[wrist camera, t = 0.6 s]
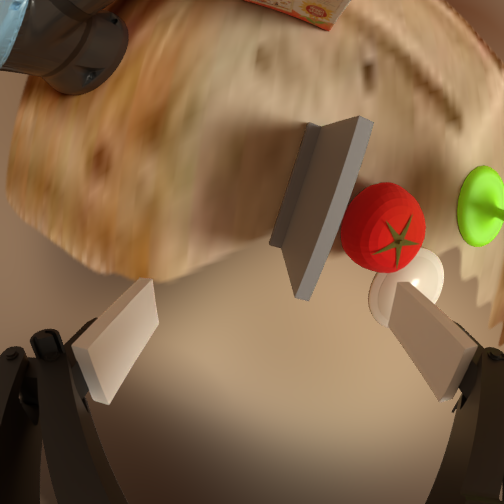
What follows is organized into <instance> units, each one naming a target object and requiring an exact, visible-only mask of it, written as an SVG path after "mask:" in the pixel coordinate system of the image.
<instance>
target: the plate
mask: <svg viewBox="0 0 504 504" xmlns="http://www.w3.org/2000/svg"><path fill="white" fill-rule="evenodd" d="M443 281H444V271H443V266H442V264H441V261H440V260H439V258H438V257H437V255H436V254H434V253H433V252H432V251H430V250H428V249H427V248H423V247H421V248H420V250H419V252H418V253H417V254H416V256H415V257H414V258H413V260H412V261H411V262H410V263H409V264H408V265H407V266H405V267H404V268H402V269H400V270H398V271H396V272H393V273H379V272H377V273H376V275H375V277H374V279H373V281H372V283H371V286H370V290H369V296H368V297H369V298H368V302H369V308H370V311H371V314H372V315H373V317H374V318H375V320H376V321H377V322H378V323H379V324H381V325H382V326H384V327H387V328H389V327H388V323H389V319H390V314H391V310H392V305H393V301H394V296H395V291H396V286H397V282H410V283H411V284H412V285H413V286H414V287H416V288H417V289H418V290H419V291H420V292H421V293H422V294H424V295H425V296H426V297H427V298H428V299H429V300H430V301H431V302H433V303H434V304H435V303H436V301H437V299H438V297H439V295H440V293H441V290H442V286H443Z"/></svg>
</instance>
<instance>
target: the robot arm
mask: <svg viewBox="0 0 504 504" xmlns="http://www.w3.org/2000/svg"><path fill="white" fill-rule="evenodd" d="M114 1H115V0H0V71H8V72H15V73H22V74H28V75H34V76H39V77H42V78H43V79H44V80H45V81H46V82H47V83H48V84H49V85H50V86H52V87H53V88H54V89H55V90H57V91H58V92H61V93H65V94H70V95H80V94H84V93H87V92H89V91H91V90H93V89H95V88H97V87H98V86H100V85H101V84H102V83H103V82H105V81H106V80H107V79H108V78H109V77H110V76H111V75H112V73H113V72H114V71H115V70H116V68H117V67H118V65H119V64H120V62H121V60H122V59H123V56H124V54H125V52H126V49H127V45H128V29H127V26H126V24H125V23H124V21H123V20H122V19H121V18H119V17H118V16H117V15H116V14H114V13H112V12H110V11H106V10H101V9H103V8H104V7H106V6H107V5H109V4H111V3H112V2H114ZM158 324H159V321H158V316H157V308H156V301H155V294H154V287H153V279H150V278H139V279H138V280H137V281H136V282H135V283H134V284H133V285H132V286H131V287H130V288H129V289H127V290H126V291H125V292H124V293H123V294H122V295H121V296H120V297H119V298H118V299H117V300H116V301H115V302H114V303H113V304H112V305H111V306H110V307H109V308H108V309H107V310H106V311H105V312H104V313H103V314H102V315H101V316H100V317H99V318H94V319H92V320H91V321H89V322H87V323H86V324H85V325H84V326H83V327H82V328H81V329H80V330H79V331H78V332H77V333H76V334H75V335H74V336H73V337H72V338H71V339H70V340H69V341H68V342H67V343H66V344H65V345H63V342H62V340H61V337H60V334H59V332H58V331H57V330H55V329H44V330H41V331H39V332H37V333H35V334H34V335H33V336H32V337H31V339H30V343H31V346H32V348H33V351H34V353H35V355H36V358H30V357H27V356H26V353H25V351H24V349H23V348H21V347H17V346H15V347H10V348H7V349H6V350H5V351H4V352H3V353H2V354H1V355H0V504H40V464H41V450H42V440H43V443H44V449H45V454H46V459H47V464H48V468H49V473H50V477H51V481H52V485H53V488H54V492H55V495H56V499H57V502H58V504H128V502H127V500H126V498H125V496H124V494H123V492H122V490H121V488H120V486H119V484H118V482H117V480H116V478H115V476H114V473H113V471H112V469H111V466H110V464H109V462H108V460H107V457H106V455H105V453H104V450H103V447H102V444H101V442H100V439H99V437H98V434H97V431H96V428H95V425H94V422H93V419H92V416H91V412H90V409H89V406H88V402H87V400H86V398H85V395H86V394H87V392H88V391H90V394H91V396H92V398H93V400H94V401H97V402H101V403H104V404H108V405H109V404H110V402H111V401H112V399H113V397H114V396H115V394H116V392H117V391H118V389H119V387H120V385H121V384H122V382H123V381H124V379H125V377H126V376H127V374H128V372H129V370H130V369H131V367H132V366H133V364H134V363H135V361H136V359H137V358H138V356H139V354H140V353H141V351H142V350H143V348H144V346H145V345H146V343H147V341H148V340H149V339H150V337H151V335H152V334H153V332H154V331H155V329H156V328H157V326H158ZM388 327H389V328H390V329H391V331H392V332H393V334H394V335H395V336H396V338H397V339H398V341H399V342H400V344H401V345H402V346H403V348H404V349H405V351H406V352H407V354H408V355H409V357H410V358H411V359H412V361H413V362H414V364H415V365H416V367H417V368H418V370H419V371H420V373H421V374H422V376H423V377H424V379H425V381H426V382H427V384H428V385H429V387H430V388H431V390H432V391H433V393H434V395H435V396H436V398H437V399H438V401H439V402H443V401H447V400H450V399H453V397H454V395H455V393H456V392H457V390H458V388H459V389H460V390H461V392H462V394H461V396H460V398H459V400H458V401H457V403H456V405H455V406H454V408H453V410H452V412H454V411H455V409H457V410H456V415H455V419H454V423H453V427H452V431H451V435H450V438H449V441H448V445H447V448H446V451H445V454H444V457H443V461H442V463H441V466H440V469H439V471H438V474H437V477H436V479H435V482H434V484H433V487H432V489H431V492H430V494H429V496H428V498H427V501H426V503H425V504H504V354H503V352H502V351H500V350H499V349H496V348H492V347H488V348H485V349H484V348H483V347H482V346H481V345H480V344H479V343H478V342H477V341H476V340H475V339H474V338H473V337H472V336H471V335H469V333H468V332H467V331H465V329H464V328H463V327H462V326H461V325H459V324H458V323H456V322H454V321H453V320H451V319H450V318H449V317H448V316H447V315H446V314H445V313H444V312H442V311H441V310H440V309H439V308H438V307H437V306H436V305H435V304H434V303H433V302H431V301H430V300H429V299H428V298H427V297H426V296H425V295H424V294H422V293H421V292H420V291H419V290H418V289H417V288H416V287H414V286H413V285H412V284H411V283H410V282H397V286H396V291H395V296H394V301H393V305H392V310H391V314H390V319H389V323H388ZM501 485H503V496H502V501H500V500H499V494H500V489H501Z"/></svg>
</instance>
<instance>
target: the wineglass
mask: <svg viewBox="0 0 504 504" xmlns="http://www.w3.org/2000/svg"><path fill="white" fill-rule="evenodd" d="M457 221H458V226H459V230H460V233H461V235H462V237H463V239H464V240H465V241H466V242H467V243H468V244H469V245H471V246H474V247H482V246H484V245H486V244H489V243H490V242H491V241H492V240H493V239H494V238H495V237H496V235H497V234H498V233H499V231H500V229H501V227H502V225H503V222H504V184H503V181H502V179H501V178H500V176H499V175H498V173H497V172H496V171H495V170H493V169H492V168H491V167H488V166H479V167H477V168H475V169H474V170H472V171H471V172H470V174H469V175H468V176H467V178H466V179H465V181H464V183H463V185H462V188H461V191H460V195H459V198H458V206H457Z"/></svg>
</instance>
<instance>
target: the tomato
mask: <svg viewBox="0 0 504 504" xmlns="http://www.w3.org/2000/svg"><path fill="white" fill-rule="evenodd" d="M425 229H426V226H425V219H424V215H423V212H422V210H421V208H420V206H419V203H418V202H417V201H416V199H415V198H414V197H413V196H412V195H411V194H409V193H408V192H407V191H406V190H405V189H403V188H402V187H401V186H399V185H396V184H394V183H389V182H384V183H378V184H375V185H371V186H369V187H367V188H365V189H364V190H363V191H361V192H360V193H359V194H358V195H357V196H356V197H355V198H354V199H353V200H352V201H351V203H350V204H349V205H348V207H347V209H346V211H345V214H344V217H343V220H342V225H341V242H342V247H343V249H344V250H345V252H346V254H347V255H348V256H349V257H350V258H351V259H352V260H353V261H354V262H355V263H357V264H358V265H360V266H361V267H363V268H366V269H369V270H372V271H375V272H379V273H393V272H396V271H398V270H400V269H402V268H404V267H405V266H407V265H408V264H409V263H410V262H411V261H412V260H413V258H414V257H415V256H416V254H417V253H418V252H419V250H420V248H421V246H422V243H423V240H424V237H425Z"/></svg>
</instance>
